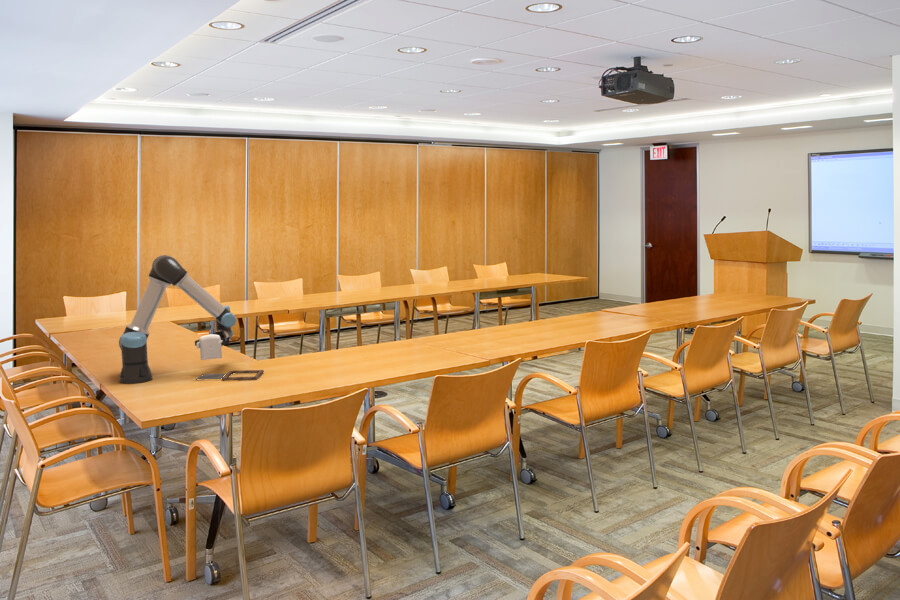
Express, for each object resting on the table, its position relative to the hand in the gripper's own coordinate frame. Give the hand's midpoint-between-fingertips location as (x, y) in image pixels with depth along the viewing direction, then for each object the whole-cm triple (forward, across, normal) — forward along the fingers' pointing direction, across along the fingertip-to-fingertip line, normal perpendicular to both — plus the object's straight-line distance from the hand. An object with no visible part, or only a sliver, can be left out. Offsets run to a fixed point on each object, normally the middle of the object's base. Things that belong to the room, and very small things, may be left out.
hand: (208, 345), depth 363 cm
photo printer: (-4, 0, -8) cm, 9 cm away
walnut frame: (-4, -16, -17) cm, 23 cm away
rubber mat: (-4, 0, -17) cm, 17 cm away
